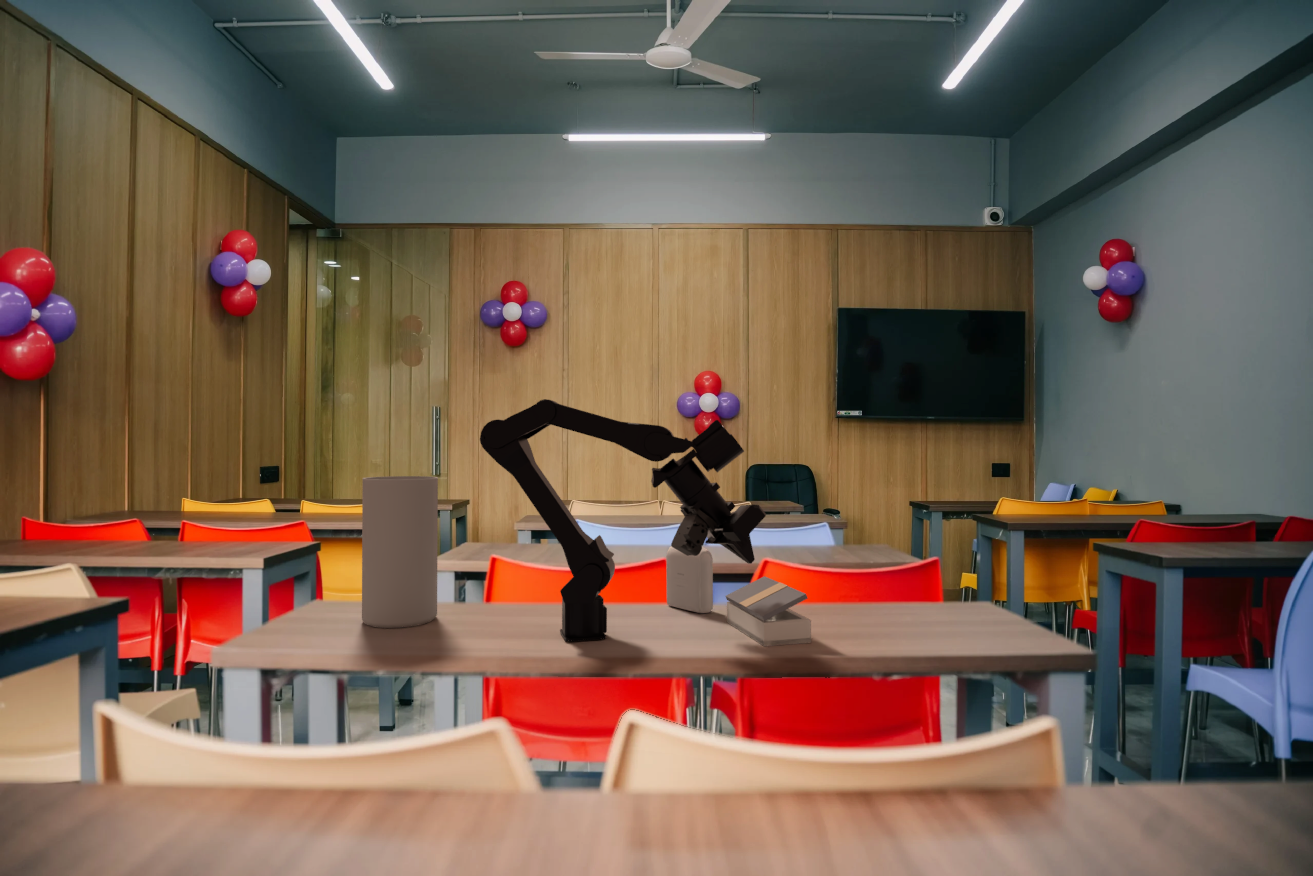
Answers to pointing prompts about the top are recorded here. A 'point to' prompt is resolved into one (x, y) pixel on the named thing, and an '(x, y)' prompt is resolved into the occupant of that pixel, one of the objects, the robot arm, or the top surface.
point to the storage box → (771, 626)
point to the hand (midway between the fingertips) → (751, 561)
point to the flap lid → (766, 598)
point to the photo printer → (690, 580)
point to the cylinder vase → (399, 550)
